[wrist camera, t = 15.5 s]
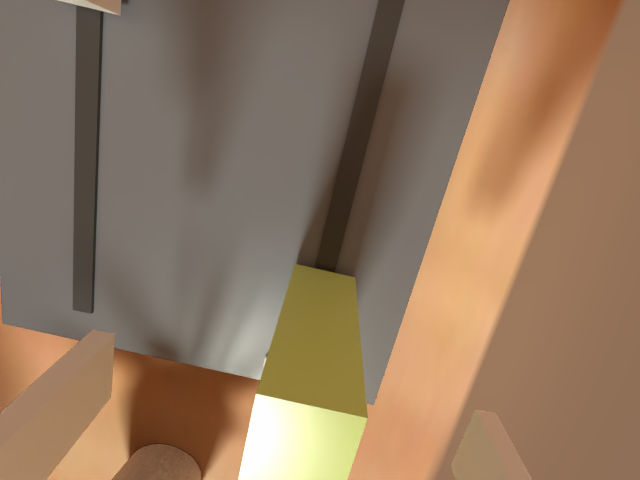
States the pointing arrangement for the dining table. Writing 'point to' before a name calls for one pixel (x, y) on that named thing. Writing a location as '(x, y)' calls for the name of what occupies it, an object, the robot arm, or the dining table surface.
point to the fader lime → (310, 385)
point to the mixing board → (226, 163)
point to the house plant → (159, 465)
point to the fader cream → (99, 5)
